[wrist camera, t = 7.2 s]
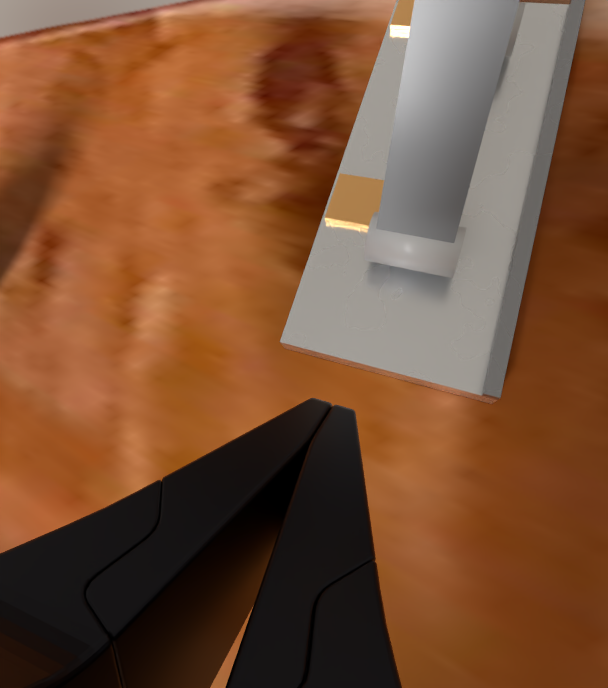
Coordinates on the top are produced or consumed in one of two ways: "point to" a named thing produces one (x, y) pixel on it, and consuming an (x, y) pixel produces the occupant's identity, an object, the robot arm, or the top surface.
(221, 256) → the top surface
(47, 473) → the top surface
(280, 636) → the robot arm
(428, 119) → the paddle
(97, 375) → the top surface
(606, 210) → the top surface
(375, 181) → the switch console
